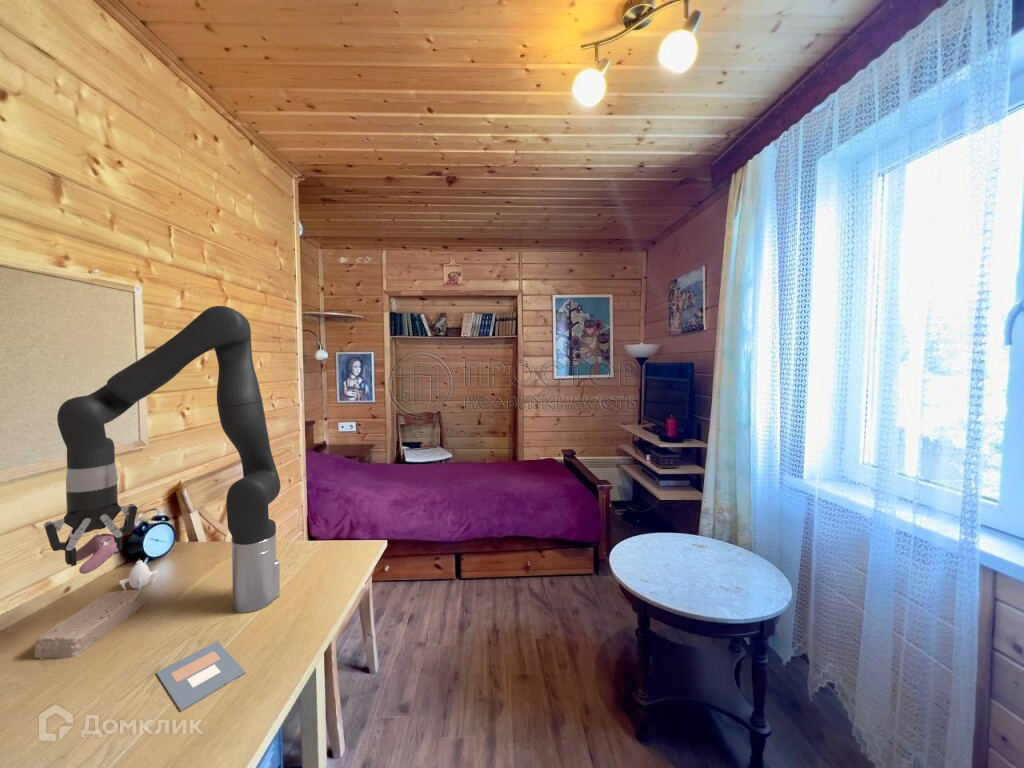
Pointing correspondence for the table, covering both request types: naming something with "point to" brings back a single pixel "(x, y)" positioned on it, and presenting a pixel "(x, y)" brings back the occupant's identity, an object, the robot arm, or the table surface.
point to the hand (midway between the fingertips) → (94, 558)
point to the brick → (88, 625)
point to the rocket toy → (139, 576)
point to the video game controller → (96, 552)
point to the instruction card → (199, 675)
